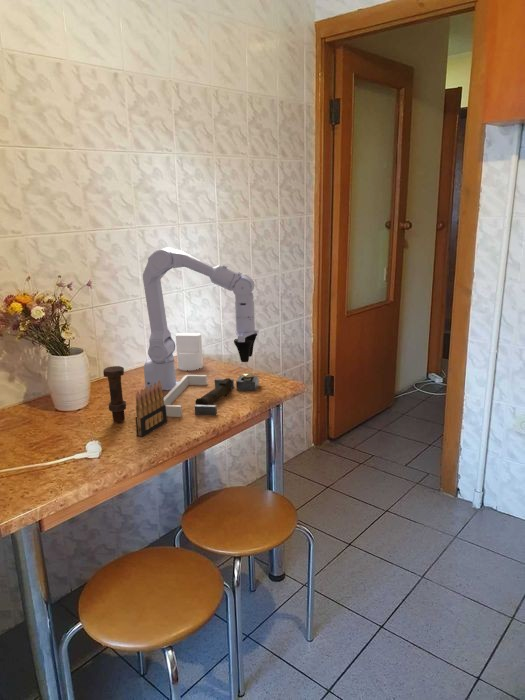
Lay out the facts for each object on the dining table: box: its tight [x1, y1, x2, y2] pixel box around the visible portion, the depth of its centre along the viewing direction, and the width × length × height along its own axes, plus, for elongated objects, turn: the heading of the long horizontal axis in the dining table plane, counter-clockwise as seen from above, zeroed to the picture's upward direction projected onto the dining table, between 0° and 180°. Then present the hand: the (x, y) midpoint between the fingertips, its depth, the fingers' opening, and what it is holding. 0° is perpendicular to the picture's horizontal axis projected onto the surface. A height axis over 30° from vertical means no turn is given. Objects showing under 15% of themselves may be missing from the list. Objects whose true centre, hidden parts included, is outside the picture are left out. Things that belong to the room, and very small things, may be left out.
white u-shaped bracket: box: [163, 374, 208, 418], centre depth 161 cm, size 7×28×3 cm, turn 171°
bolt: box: [102, 365, 127, 424], centre depth 144 cm, size 6×5×15 cm
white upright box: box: [175, 332, 204, 371], centre depth 192 cm, size 9×9×12 cm
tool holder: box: [194, 374, 260, 416], centre depth 160 cm, size 14×27×3 cm, turn 171°
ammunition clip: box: [135, 381, 168, 438], centre depth 139 cm, size 11×2×12 cm, turn 154°
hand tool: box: [195, 377, 233, 405], centre depth 159 cm, size 19×4×5 cm, turn 154°
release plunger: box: [241, 371, 254, 381], centre depth 169 cm, size 4×4×4 cm
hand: (246, 359), depth 167 cm, fingers open, 5 cm apart
